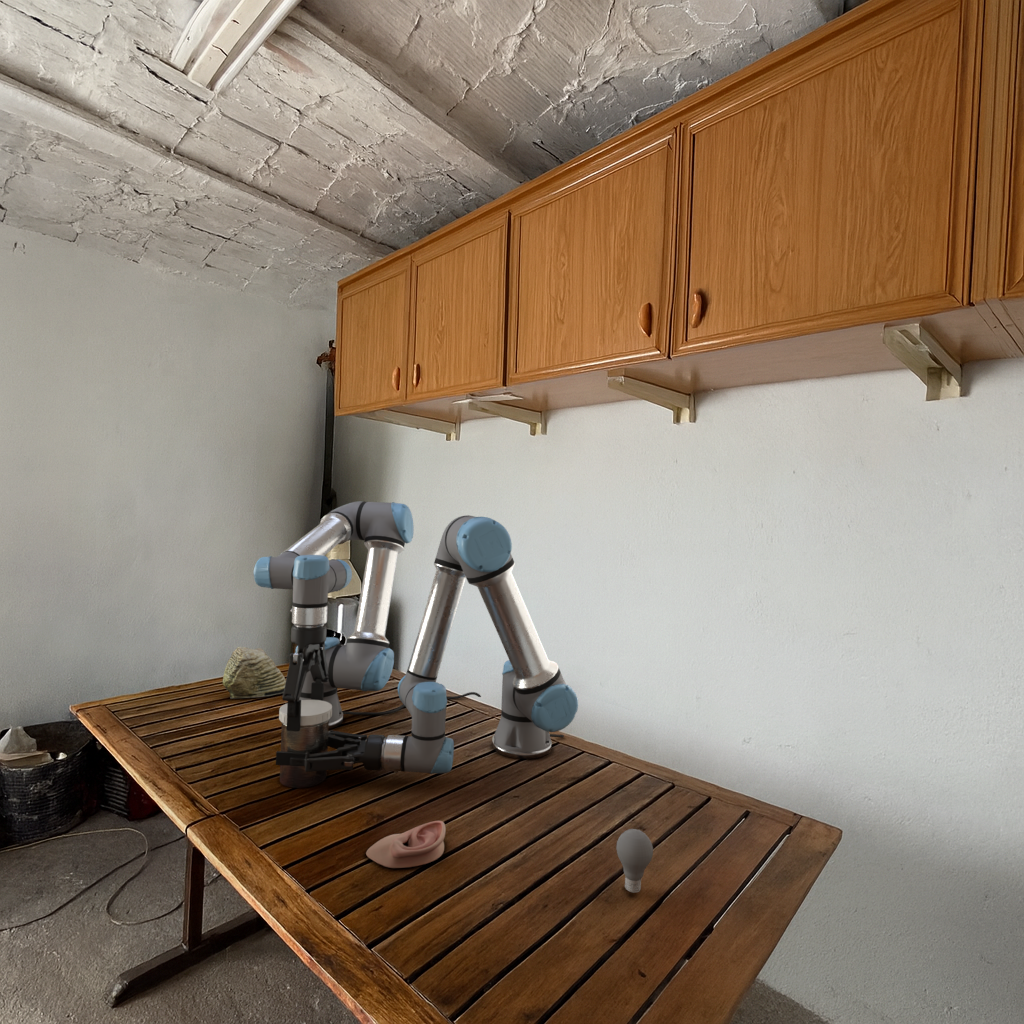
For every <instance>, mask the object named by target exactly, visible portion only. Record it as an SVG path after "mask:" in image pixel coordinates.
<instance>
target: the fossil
mask: <svg viewBox="0 0 1024 1024" xmlns="http://www.w3.org/2000/svg"><path fill="white" fill-rule="evenodd" d="M222 676H223V677H222V685H223V687H224V688H225V690H226V691H228V693H229V698H230V699H250V698H264V697H271V696H275V695H281V694H283V693H284V688H285V683H286V678H285V676H284V674H283V673H282V672H281V669H279V668H278V667H277V665H276V663H275V662H274V660H273V659H272V658H271V657H270V656H269V655H268V654H267V653H266V652H265V650H264V649H263V648H260V647H258V648H251V647H247V646H246V647H245V646H238V647H237V648H236V649H235V650H233V651H232V653H231V656H230V657H229V659H228V660H227V663H226V666H225V668H224V671H223V675H222Z"/></svg>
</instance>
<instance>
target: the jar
mask: <svg viewBox="0 0 1024 1024" xmlns="http://www.w3.org/2000/svg"><path fill="white" fill-rule="evenodd" d="M328 728H329V720H327V721H325V722H322V723H319V724H314V725H306V726H300V731H287V724H285V723H282V722H281V733H280V734H281V735H280V737H281V738H280V740H281V741H280V751H285V752H307V751H308V752H309V755H310V754H316V753H322V752H329V750H328V749H329V747H328V733H329V730H328ZM327 777H328V770H327V771H313V772H306V771H305V766H288V765H279V782H280V784H281V785H282V786H285V787H288V788H292V789H294V788H295V789H305V788H309V787H314V786H317V785H320V784H321V783H323V782H324V781H325V780H326V778H327Z"/></svg>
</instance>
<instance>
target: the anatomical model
mask: <svg viewBox="0 0 1024 1024" xmlns="http://www.w3.org/2000/svg"><path fill="white" fill-rule="evenodd" d="M446 830H447V829H446V824H445V822H444V821H443V820H434V821H429V822H426V823H423V824H420V825H417V826H416V827H413V828H411V829H408V830H406V831H404V832H402V833H394V834H389V835H387V836H384V837H383V838H381V839H379V840H378V841H376V842H375V843H374V844H372V845H371V846H370V847H369V848H367V850H366V851H365V854H366V855H365V856H367V858H369V860H370V861H371V860H372V861H373V862H375V863H377V864H378V865H381V866H383V867H385V868H390V869H403V868H412V867H418V866H422V865H426V864H429V863H431V862H434V861H436V860H438V859H439V858H440V857H442V856H443V854H444V851H445V842H444V839H445V837H446V833H447V832H446Z"/></svg>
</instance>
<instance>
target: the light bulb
mask: <svg viewBox="0 0 1024 1024" xmlns="http://www.w3.org/2000/svg"><path fill="white" fill-rule="evenodd" d="M615 849H616V854H617V857H618V859H619V861H620V863H621V865H622V867H623V873H624V874H623V875H624V876H625V878H624V888H625V890H627V891H628V892H630V893H634V894H635V893H639V892H640V891H641V889H642V887H641V886H642V879H643V877H644V875H645V871H646V868H647V867H648V866H649V864H650V863H651V861H652V859H653V855H654V847H653V843H652V841H651V838H649V836H648V835H647V834H646V833H645V832H643V831H642V830H641V829H636V828H629V829H627V830H625V831H623V832H622V833H621V834H620V835H619V837H618V839H617V841H616V847H615Z"/></svg>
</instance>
